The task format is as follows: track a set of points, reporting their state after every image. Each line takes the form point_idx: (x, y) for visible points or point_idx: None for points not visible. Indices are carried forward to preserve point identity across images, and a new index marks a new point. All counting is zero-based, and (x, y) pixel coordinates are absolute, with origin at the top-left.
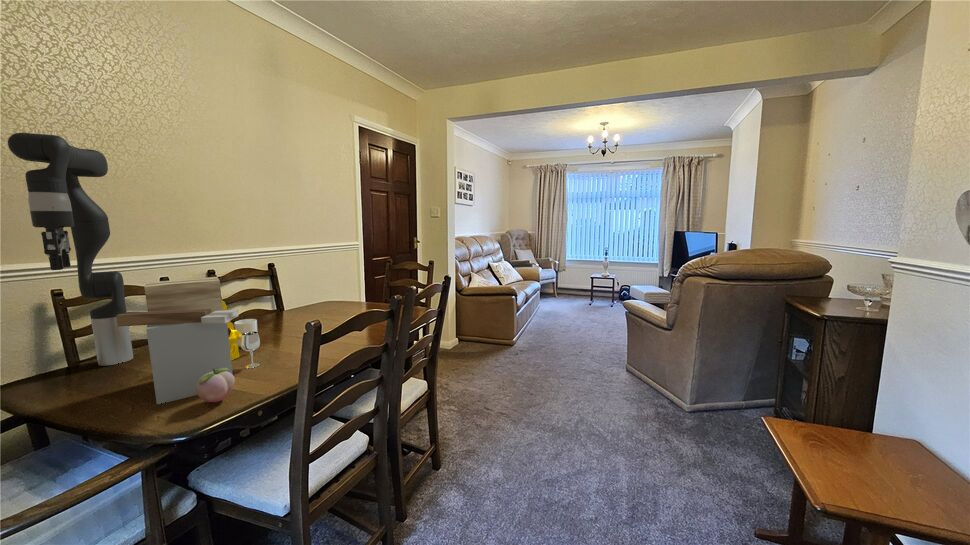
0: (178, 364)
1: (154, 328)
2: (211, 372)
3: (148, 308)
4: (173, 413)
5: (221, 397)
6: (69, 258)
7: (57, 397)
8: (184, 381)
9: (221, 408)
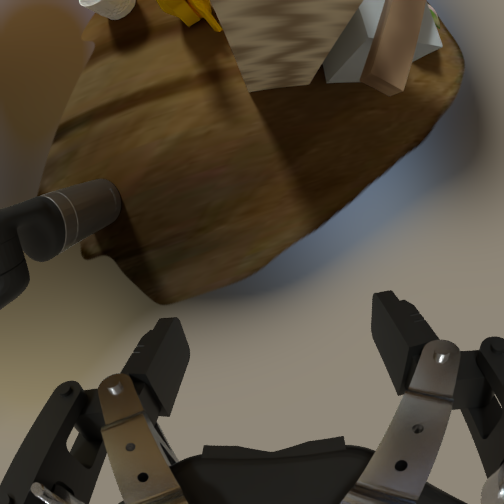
0: None
1: (437, 34)
2: None
3: (346, 21)
4: (415, 66)
5: None
6: (142, 348)
7: (254, 225)
8: None
9: None
